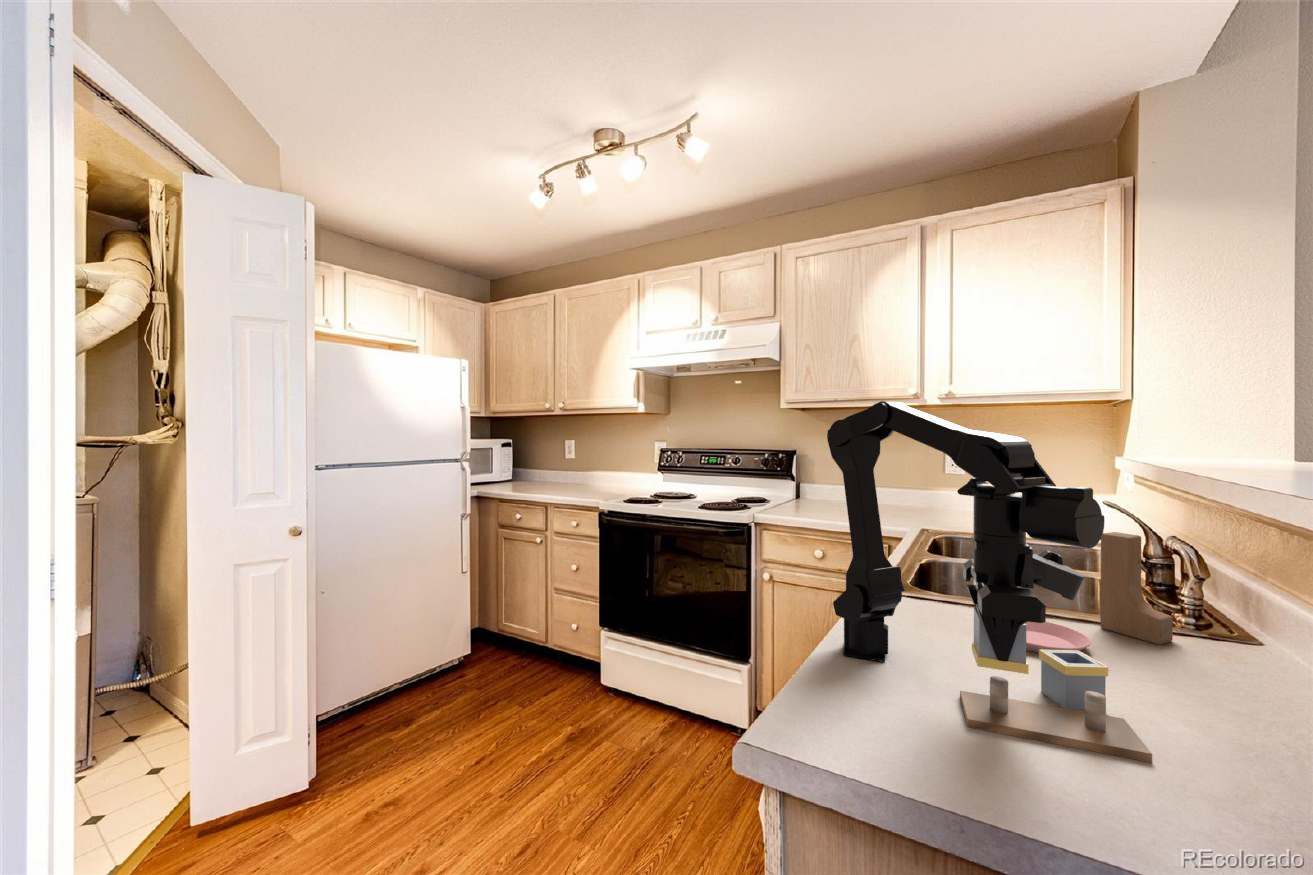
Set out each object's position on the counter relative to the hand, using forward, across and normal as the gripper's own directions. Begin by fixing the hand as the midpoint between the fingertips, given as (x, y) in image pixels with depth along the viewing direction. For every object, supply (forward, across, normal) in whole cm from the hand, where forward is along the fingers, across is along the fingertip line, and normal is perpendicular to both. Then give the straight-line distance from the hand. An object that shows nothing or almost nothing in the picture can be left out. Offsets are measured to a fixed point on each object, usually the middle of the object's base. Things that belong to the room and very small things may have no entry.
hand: (998, 652), depth 69 cm
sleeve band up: (+8, +9, -10) cm, 16 cm away
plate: (+9, +32, -11) cm, 35 cm away
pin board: (+8, 0, -5) cm, 10 cm away
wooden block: (+9, +43, -28) cm, 52 cm away
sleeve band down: (+1, 0, 0) cm, 1 cm away
